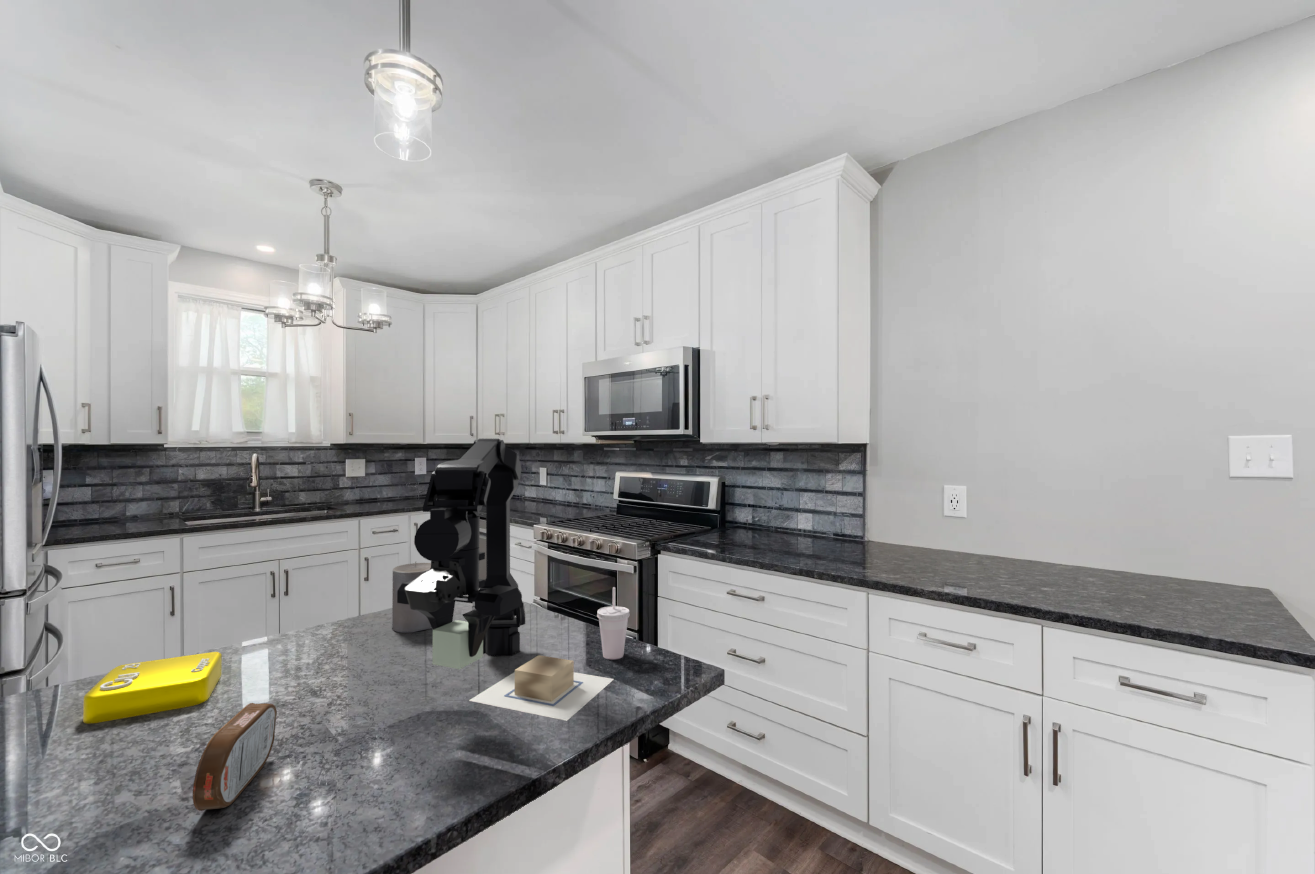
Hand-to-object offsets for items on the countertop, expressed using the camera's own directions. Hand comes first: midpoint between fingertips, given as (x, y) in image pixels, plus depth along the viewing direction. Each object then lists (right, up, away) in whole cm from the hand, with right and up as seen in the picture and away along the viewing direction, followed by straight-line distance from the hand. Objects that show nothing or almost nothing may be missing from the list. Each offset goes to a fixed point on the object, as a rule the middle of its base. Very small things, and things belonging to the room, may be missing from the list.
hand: (458, 653), depth 82 cm
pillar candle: (-27, -12, +47) cm, 55 cm away
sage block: (0, -1, 0) cm, 1 cm away
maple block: (+11, -10, +11) cm, 18 cm away
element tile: (-54, -12, +10) cm, 56 cm away
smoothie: (+21, -12, +26) cm, 35 cm away
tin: (-22, -11, -14) cm, 28 cm away
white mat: (+11, -11, +11) cm, 19 cm away
